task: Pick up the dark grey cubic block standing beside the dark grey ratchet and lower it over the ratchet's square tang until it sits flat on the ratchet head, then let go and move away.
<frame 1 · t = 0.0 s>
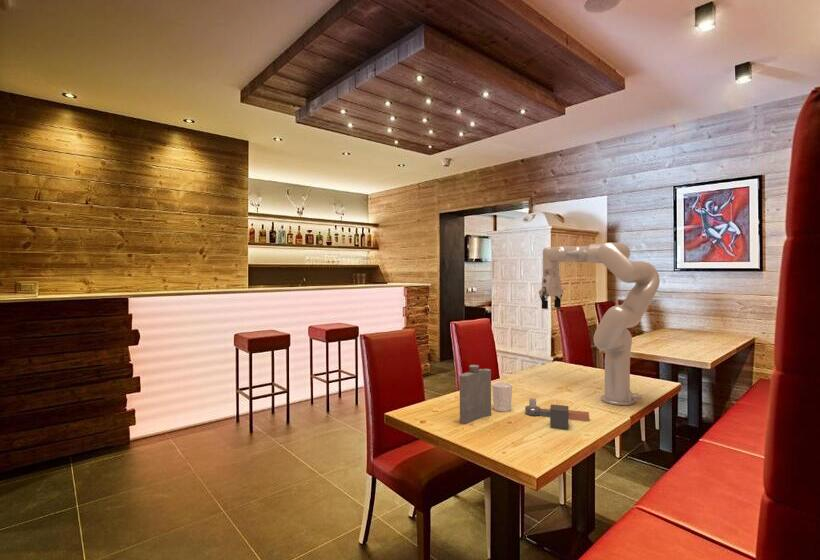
hand: (551, 308, 202), 37 cm above the table, tool pointing down, fingers open, 9 cm apart
dark grey cubic block: (559, 425, 149), on the table
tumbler: (502, 409, 168), on the table
ratchet: (554, 416, 159), on the table
hip flask: (475, 418, 158), on the table
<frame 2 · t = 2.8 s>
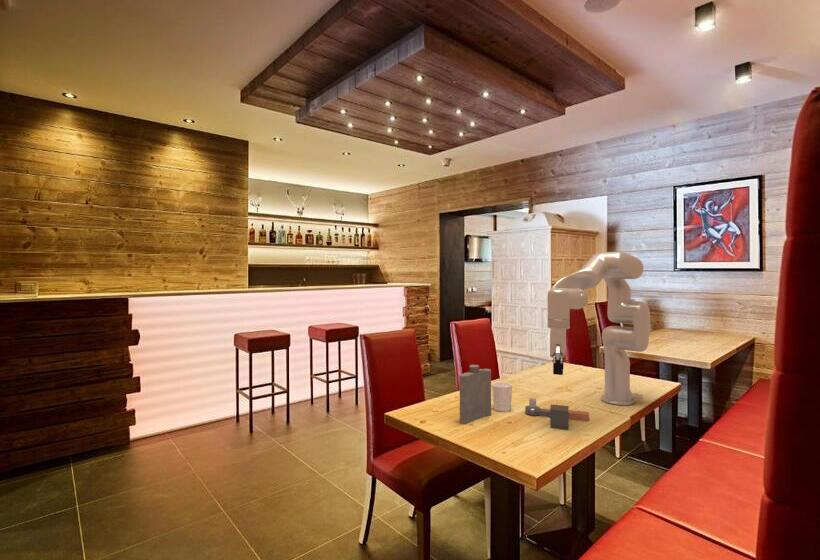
hand: (558, 371, 149), 19 cm above the table, tool pointing down, fingers open, 9 cm apart
nothing on the table moved.
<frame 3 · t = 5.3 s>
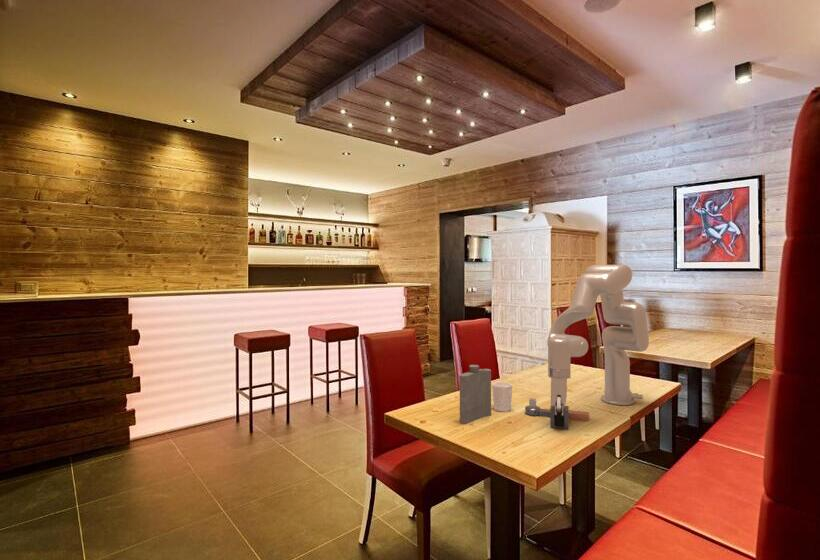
hand: (559, 422, 149), 1 cm above the table, tool pointing down, fingers closed on dark grey cubic block, 6 cm apart
dark grey cubic block: (559, 425, 149), on the table, touching gripper
everything else where it was.
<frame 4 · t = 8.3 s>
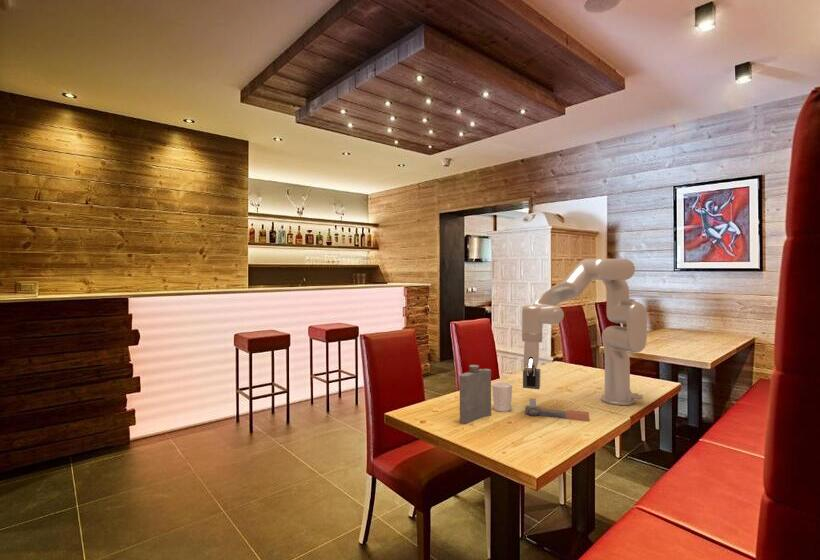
hand: (531, 383, 161), 12 cm above the table, tool pointing down, fingers closed on dark grey cubic block, 6 cm apart
dark grey cubic block: (531, 386, 161), point 11 cm above the table, touching gripper
everything else where it was.
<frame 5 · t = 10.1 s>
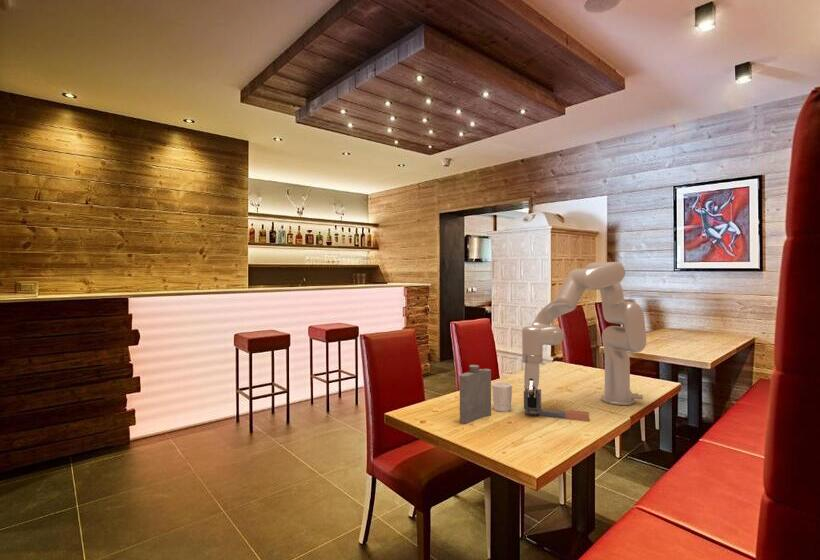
hand: (532, 404, 161), 4 cm above the table, tool pointing down, fingers closed on dark grey cubic block, 6 cm apart
dark grey cubic block: (532, 407, 161), point 2 cm above the table, touching gripper, ratchet
ratchet: (554, 416, 159), on the table, touching dark grey cubic block
everything else where it was.
when the fingers open (4 cm above the table, at t = 11.2 s): dark grey cubic block stays where it is, resting on ratchet.
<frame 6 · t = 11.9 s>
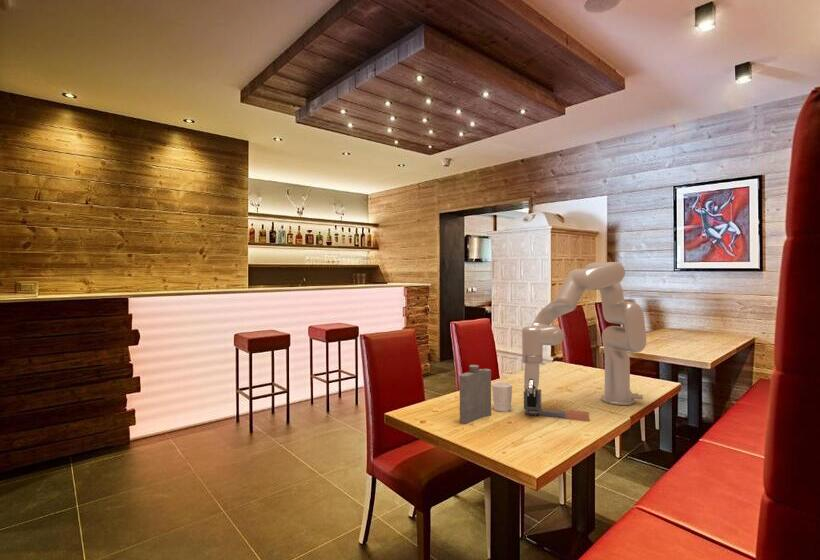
hand: (532, 402, 161), 4 cm above the table, tool pointing down, fingers open, 9 cm apart
dark grey cubic block: (532, 407, 161), point 2 cm above the table, touching ratchet
everything else where it was.
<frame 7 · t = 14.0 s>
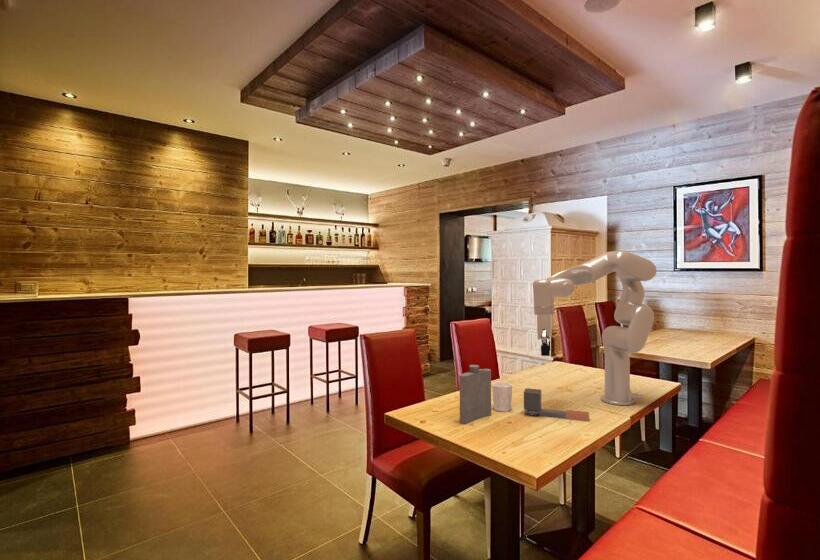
hand: (546, 353, 167), 22 cm above the table, tool pointing down, fingers open, 9 cm apart
nothing on the table moved.
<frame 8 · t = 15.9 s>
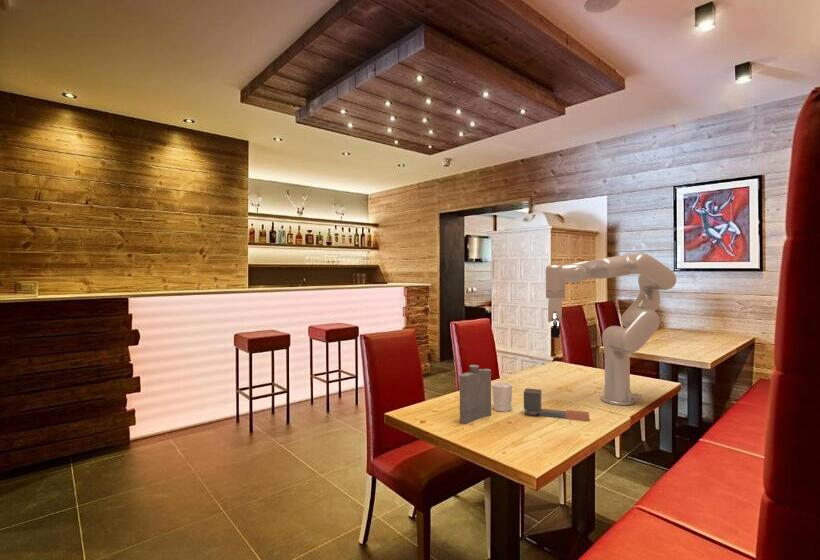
hand: (555, 335, 173), 28 cm above the table, tool pointing down, fingers open, 9 cm apart
nothing on the table moved.
at the end: dark grey cubic block 0.1 cm from the target spot on the ratchet, point 2.5 cm above the ratchet's base; dark grey cubic block tilted 0°; the gripper is holding nothing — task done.
